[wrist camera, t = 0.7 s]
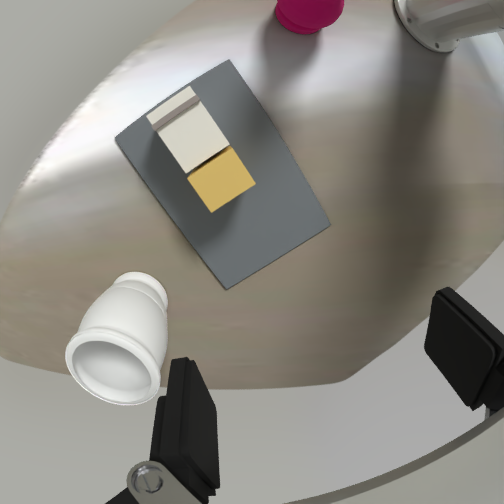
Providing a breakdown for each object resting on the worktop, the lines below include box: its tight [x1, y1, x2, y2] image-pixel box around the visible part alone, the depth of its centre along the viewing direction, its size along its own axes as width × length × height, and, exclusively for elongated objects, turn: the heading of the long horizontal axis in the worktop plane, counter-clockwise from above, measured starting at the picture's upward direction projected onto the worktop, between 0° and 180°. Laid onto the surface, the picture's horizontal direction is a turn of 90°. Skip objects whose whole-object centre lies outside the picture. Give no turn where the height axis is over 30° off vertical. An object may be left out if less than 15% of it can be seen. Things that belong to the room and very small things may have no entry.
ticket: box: [146, 86, 230, 173], centre depth 28 cm, size 5×7×6 cm
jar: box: [65, 272, 168, 405], centre depth 32 cm, size 11×10×15 cm
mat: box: [115, 59, 331, 289], centre depth 34 cm, size 16×24×1 cm, turn 32°
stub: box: [187, 146, 256, 213], centre depth 30 cm, size 5×4×7 cm
